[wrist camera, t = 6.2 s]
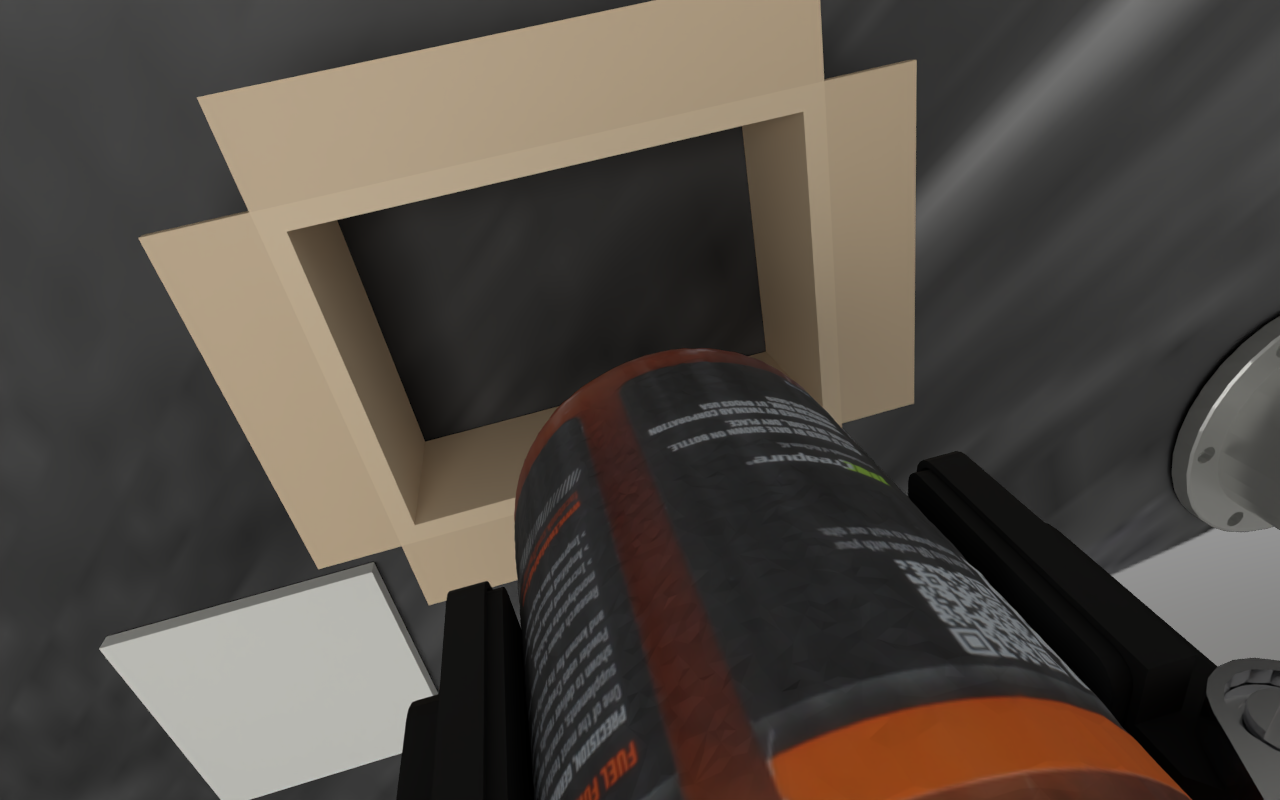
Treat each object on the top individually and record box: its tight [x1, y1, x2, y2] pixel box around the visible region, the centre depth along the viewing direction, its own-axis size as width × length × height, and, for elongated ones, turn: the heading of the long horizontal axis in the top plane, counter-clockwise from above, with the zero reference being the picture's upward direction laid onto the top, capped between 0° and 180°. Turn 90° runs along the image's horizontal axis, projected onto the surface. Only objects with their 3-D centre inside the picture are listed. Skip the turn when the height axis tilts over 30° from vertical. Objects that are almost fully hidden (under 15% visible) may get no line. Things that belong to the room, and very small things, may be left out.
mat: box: [99, 562, 438, 800], centre depth 29 cm, size 10×10×1 cm
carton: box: [139, 0, 917, 605], centre depth 22 cm, size 19×15×5 cm
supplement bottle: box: [514, 348, 1192, 800], centre depth 8 cm, size 6×6×11 cm
